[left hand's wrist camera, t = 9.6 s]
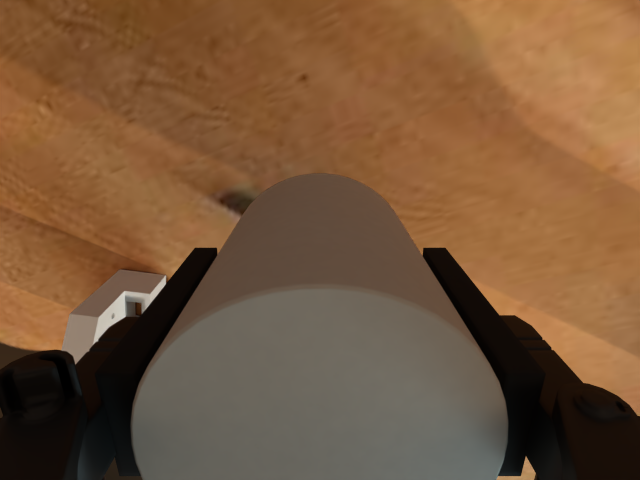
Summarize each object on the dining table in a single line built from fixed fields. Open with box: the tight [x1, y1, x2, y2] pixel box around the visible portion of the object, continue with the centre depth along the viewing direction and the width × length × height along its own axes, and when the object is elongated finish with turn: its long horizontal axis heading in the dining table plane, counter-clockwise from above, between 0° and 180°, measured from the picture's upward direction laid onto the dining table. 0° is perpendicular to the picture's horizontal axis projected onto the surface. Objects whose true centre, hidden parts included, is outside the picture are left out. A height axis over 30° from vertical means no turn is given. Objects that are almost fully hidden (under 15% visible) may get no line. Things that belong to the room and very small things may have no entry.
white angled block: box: [61, 269, 166, 364], centre depth 29 cm, size 4×10×9 cm, turn 172°
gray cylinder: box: [130, 173, 508, 480], centre depth 12 cm, size 7×7×9 cm
